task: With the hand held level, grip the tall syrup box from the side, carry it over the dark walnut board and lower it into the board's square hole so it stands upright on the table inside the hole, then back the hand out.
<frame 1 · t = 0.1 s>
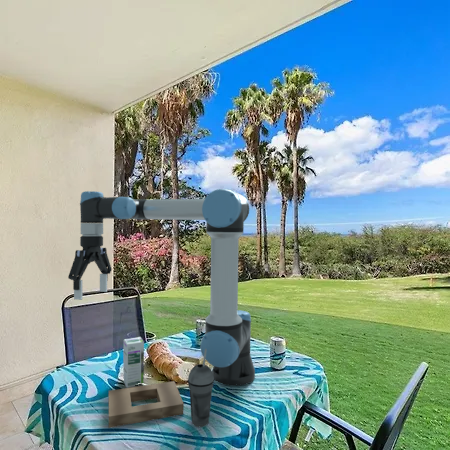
hand: (91, 295, 118), 28 cm above the table, tool pointing down, fingers open, 13 cm apart
beverage cup: (200, 422, 91), on the table
walnut board: (144, 407, 97), on the table
syrup box: (133, 383, 112), on the table
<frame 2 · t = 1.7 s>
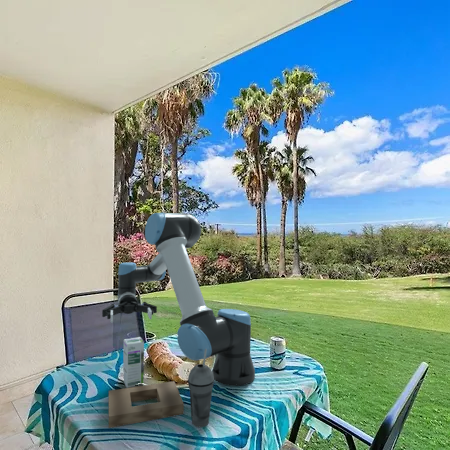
hand: (131, 317, 121), 19 cm above the table, tool horizontal, fingers open, 13 cm apart
nothing on the table moved.
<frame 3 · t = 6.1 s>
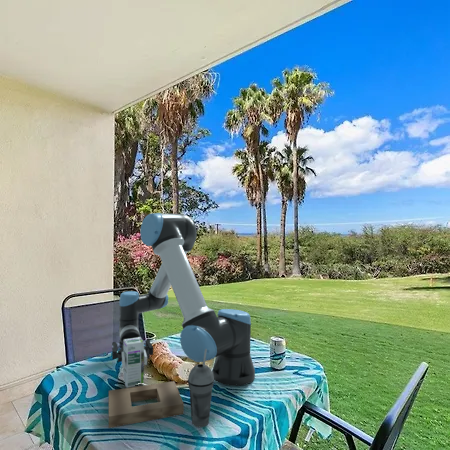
hand: (134, 362, 107), 9 cm above the table, tool horizontal, fingers closed on syrup box, 6 cm apart
syrup box: (133, 383, 112), on the table, touching gripper
everything else where it was.
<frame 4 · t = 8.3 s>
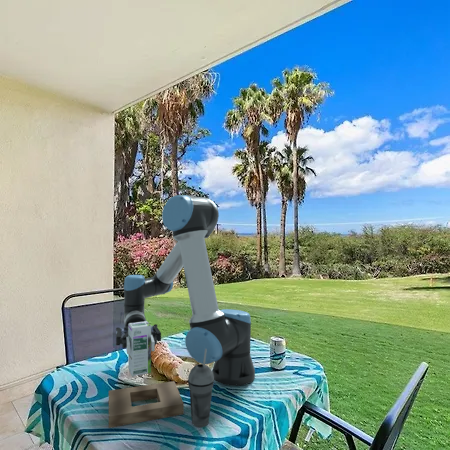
hand: (141, 347, 96), 18 cm above the table, tool horizontal, fingers closed on syrup box, 6 cm apart
syrup box: (139, 372, 101), point 9 cm above the table, touching gripper
everything else where it was.
when the fingers open (10 cm above the table, at t = 10.9 s): syrup box stays where it is, resting in walnut board.
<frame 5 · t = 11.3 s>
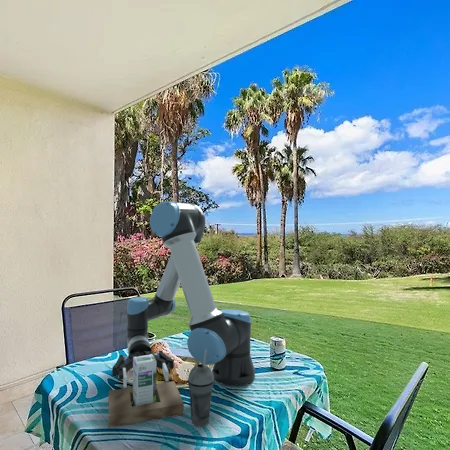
hand: (146, 379, 94), 10 cm above the table, tool horizontal, fingers open, 11 cm apart
syrup box: (144, 408, 97), resting in walnut board
everything else where it was.
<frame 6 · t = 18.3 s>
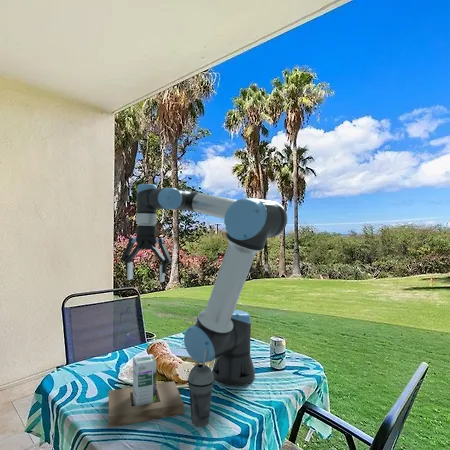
hand: (145, 280, 127), 32 cm above the table, tool pointing down, fingers open, 13 cm apart
nothing on the table moved.
at the end: syrup box 0.2 cm off-centre on the walnut board, point 0.0 cm above the walnut board's base; syrup box tilted 0°; the gripper is holding nothing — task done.
